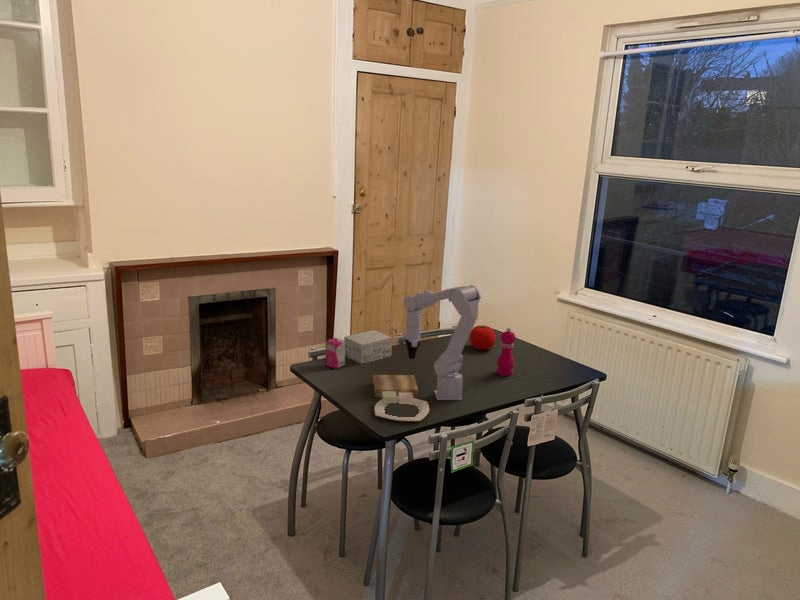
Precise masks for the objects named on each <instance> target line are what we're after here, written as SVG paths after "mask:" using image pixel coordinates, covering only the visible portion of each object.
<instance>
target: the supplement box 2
mask: <svg viewBox="0 0 800 600" xmlns="http://www.w3.org/2000/svg"><path fill="white" fill-rule="evenodd" d="M343 340H345V356H346V355H348V357H349V358H351V359H353V360H356V361H357V362H359V363H366V362H369V363H371V362H370V361H373V362H376V361H375V360H377V361H380V360H379V359H381V360H384V359H383V358H385V359H387V358H386V357H388V358H391V357H392V352H393V351H392V348H393V347H392V345H393V338H392V337H391V336H389V335H387V334H385V333H382V332H380V331H378V330H375V329H373V330H369V331H364V332H361V333H360V332H359V333H355V334H352V335H351V334H349V335H345V336H344V338H343ZM390 356H391V357H390ZM349 358H348V359H349ZM351 359H350V360H351ZM353 360H352V361H353ZM357 362H356V363H357ZM359 363H358V364H359ZM366 364H367V363H366Z"/></svg>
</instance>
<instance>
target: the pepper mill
mask: <svg viewBox="0 0 800 600" xmlns="http://www.w3.org/2000/svg"><path fill="white" fill-rule="evenodd" d="M516 337H517V336H516V334H515V333H514V332H512V329H511V328H510V327H507V328H506V330H505V331H503V332H502V333H501V334H500V340H501V348H502V349H501V354H500V355H499V357H498V359H497V361H496V365H497V367H498V368H497V371H496V372H497V374H498V376H499V375H500V376H504V377H510V376H512V375H513V372H514V371H513V368H514V367H515V359H514V356H513V348H514V345H515V344H514V343H515V341H516Z"/></svg>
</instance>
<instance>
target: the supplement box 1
mask: <svg viewBox="0 0 800 600" xmlns="http://www.w3.org/2000/svg"><path fill="white" fill-rule="evenodd" d="M325 354H326V355H325V356H326V357H325V358H326V359H325V363H326V364H325V365H326V366H325V367H327V366H329V367H328V368H330V367H332V368H331V369H333V368H335V369H336V368H339V367H341V366H344V365H345V366H346V357H345V340H344V339H341V338H337V337H334V338H331V339H328V340H326V341H325ZM345 366H344V367H345ZM341 368H342V367H341ZM335 369H334V370H335ZM339 369H340V368H339ZM336 370H337V369H336Z"/></svg>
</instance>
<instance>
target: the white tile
mask: <svg viewBox="0 0 800 600" xmlns="http://www.w3.org/2000/svg"><path fill="white" fill-rule="evenodd" d="M413 399H414V398H413V394H412V393H402V392H399V394H398V400H399V404H413Z"/></svg>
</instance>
